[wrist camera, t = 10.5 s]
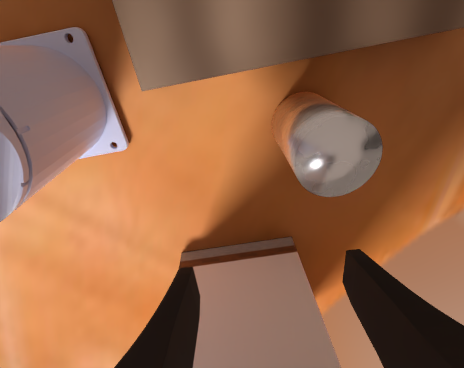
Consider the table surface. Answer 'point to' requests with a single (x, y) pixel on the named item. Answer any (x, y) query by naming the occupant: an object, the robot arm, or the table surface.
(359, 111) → the table surface
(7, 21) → the table surface
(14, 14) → the table surface
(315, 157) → the shiny metal cylinder
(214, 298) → the tall white column
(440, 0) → the housing block
